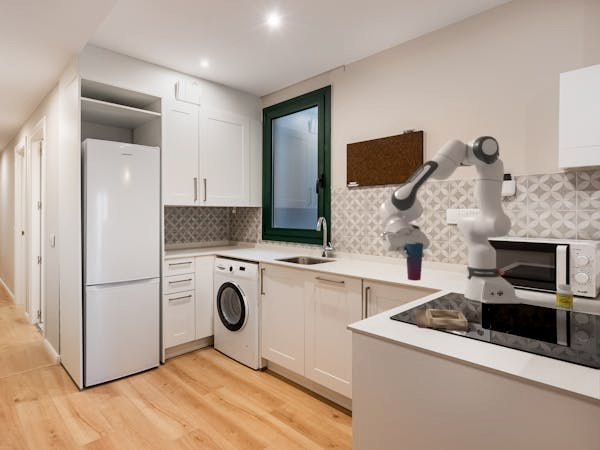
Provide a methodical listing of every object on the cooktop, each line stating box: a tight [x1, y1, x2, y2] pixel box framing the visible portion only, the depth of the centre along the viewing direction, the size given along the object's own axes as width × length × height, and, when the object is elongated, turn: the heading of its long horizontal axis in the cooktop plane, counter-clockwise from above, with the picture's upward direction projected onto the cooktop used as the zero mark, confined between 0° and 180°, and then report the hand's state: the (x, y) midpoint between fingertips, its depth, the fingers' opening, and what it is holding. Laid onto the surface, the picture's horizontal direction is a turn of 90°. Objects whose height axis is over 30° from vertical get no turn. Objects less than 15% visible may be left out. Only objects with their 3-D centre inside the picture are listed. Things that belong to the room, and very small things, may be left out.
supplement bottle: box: [555, 283, 574, 311], centre depth 141 cm, size 5×5×10 cm
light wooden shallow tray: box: [413, 308, 469, 332], centre depth 128 cm, size 16×18×3 cm
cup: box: [405, 242, 424, 282], centre depth 144 cm, size 7×7×15 cm
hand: (415, 257), depth 144 cm, fingers closed on cup, 6 cm apart
